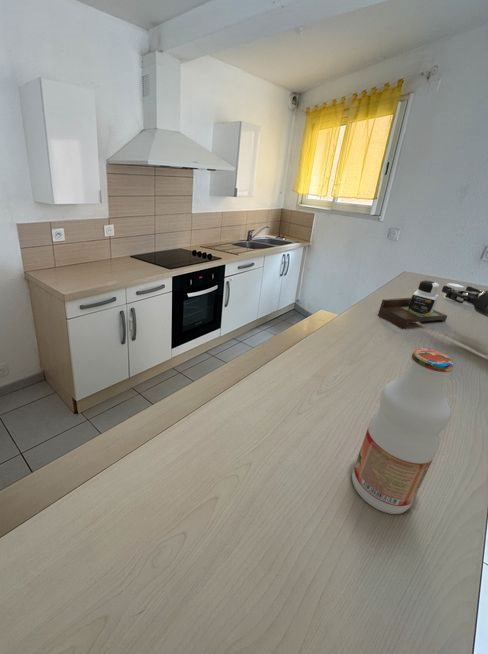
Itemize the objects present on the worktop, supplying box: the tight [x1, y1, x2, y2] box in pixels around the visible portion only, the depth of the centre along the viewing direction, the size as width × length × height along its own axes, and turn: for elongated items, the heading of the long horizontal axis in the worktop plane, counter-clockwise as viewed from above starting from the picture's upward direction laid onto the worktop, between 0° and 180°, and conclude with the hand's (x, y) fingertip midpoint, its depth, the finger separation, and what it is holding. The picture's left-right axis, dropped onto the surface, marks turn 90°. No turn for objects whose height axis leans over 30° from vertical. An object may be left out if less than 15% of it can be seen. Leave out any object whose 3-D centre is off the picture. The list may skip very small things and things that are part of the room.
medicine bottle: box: [408, 280, 440, 316], centre depth 122 cm, size 7×7×12 cm
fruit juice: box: [351, 347, 455, 515], centre depth 52 cm, size 9×9×28 cm
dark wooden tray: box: [377, 297, 448, 330], centre depth 126 cm, size 20×12×7 cm, turn 105°
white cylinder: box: [442, 282, 466, 302], centre depth 150 cm, size 7×7×7 cm
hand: (455, 288), depth 110 cm, fingers open, 8 cm apart
